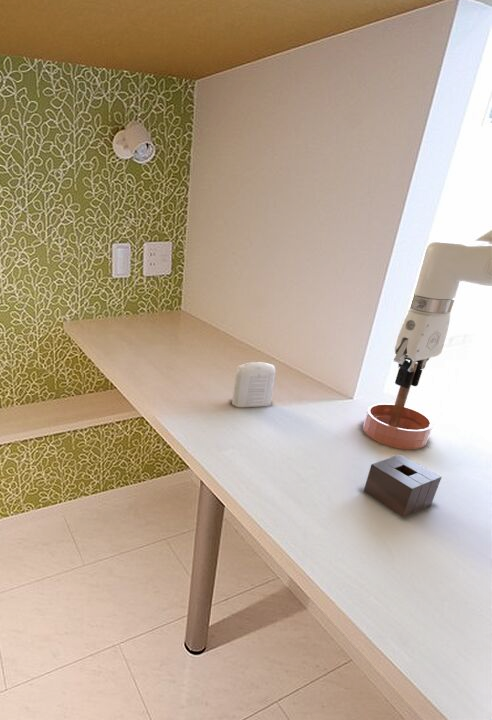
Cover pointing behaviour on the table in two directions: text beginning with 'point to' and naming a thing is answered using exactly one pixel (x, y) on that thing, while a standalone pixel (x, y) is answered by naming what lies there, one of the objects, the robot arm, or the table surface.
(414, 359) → the robot arm
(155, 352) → the table surface
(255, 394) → the photo printer
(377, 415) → the bowl
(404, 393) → the stick
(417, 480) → the stand
